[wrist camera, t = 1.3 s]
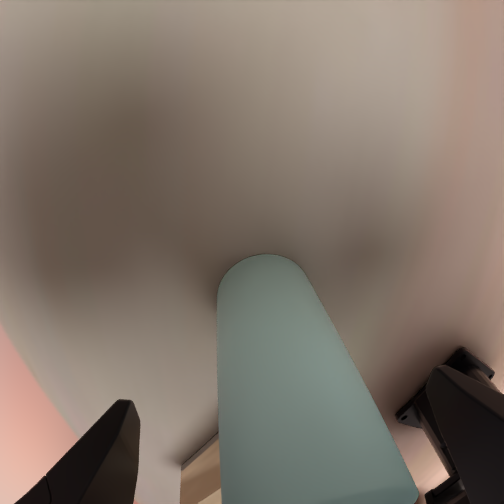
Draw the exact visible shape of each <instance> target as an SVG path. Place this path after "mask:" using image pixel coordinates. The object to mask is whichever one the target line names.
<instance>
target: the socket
mask: <svg viewBox="0 0 504 504" xmlns="http://www.w3.org/2000/svg"><path fill="white" fill-rule="evenodd" d="M180 504H222V499H221V479H220V455H219V432H218V433H217V434H216V435H215V436H214V437H213V438H212V439H211V440H210V441H208V442H207V443H206V444H205V445H204V446H203V447H202V448H201V449H200V450H199V451H198V452H197V453H195V454H194V455H193V456H192V457H191V458H190V459H189V460H188V461H187V462H185V463H184V464H183V465H182V467H181V488H180Z"/></svg>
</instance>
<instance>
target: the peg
mask: <svg viewBox="0 0 504 504" xmlns="http://www.w3.org/2000/svg"><path fill="white" fill-rule="evenodd" d="M217 382H218V425H219V455H220V479H221V499H222V504H414V503H415V502H416V500H417V499H418V496H419V491H418V489H417V487H416V485H415V483H414V481H413V479H412V476H411V474H410V472H409V470H408V468H407V466H406V464H405V462H404V460H403V458H402V456H401V454H400V452H399V450H398V448H397V446H396V444H395V442H394V440H393V438H392V436H391V434H390V432H389V430H388V428H387V426H386V424H385V422H384V420H383V418H382V416H381V414H380V412H379V410H378V408H377V406H376V404H375V402H374V400H373V398H372V396H371V394H370V392H369V390H368V389H367V387H366V385H365V383H364V381H363V379H362V377H361V375H360V373H359V371H358V369H357V368H356V366H355V364H354V362H353V360H352V358H351V356H350V354H349V353H348V351H347V349H346V347H345V345H344V343H343V341H342V340H341V338H340V336H339V334H338V332H337V330H336V328H335V327H334V325H333V323H332V321H331V319H330V318H329V316H328V314H327V312H326V310H325V308H324V307H323V305H322V303H321V301H320V299H319V298H318V296H317V294H316V292H315V290H314V289H313V287H312V285H311V283H310V282H309V280H308V278H307V276H306V274H305V273H304V271H303V270H302V269H301V268H300V267H299V266H298V265H297V264H296V263H294V262H293V261H291V260H289V259H288V258H285V257H282V256H278V255H272V254H261V255H255V256H252V257H248V258H246V259H244V260H242V261H240V262H238V263H237V264H235V265H234V266H233V267H232V268H231V269H230V270H229V271H228V272H227V273H226V274H225V275H224V277H223V279H222V280H221V282H220V285H219V288H218V292H217Z"/></svg>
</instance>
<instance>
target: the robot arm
mask: <svg viewBox="0 0 504 504" xmlns="http://www.w3.org/2000/svg"><path fill="white" fill-rule="evenodd" d="M494 374H495V372H494V371H493V370H492V369H491V368H490V367H489V366H487V365H486V364H485V363H484V362H482V361H481V360H480V359H478V358H477V357H476V356H475V355H473V354H472V353H471V352H470V351H468V350H467V349H466V348H464V347H463V348H460V349H459V350H458V351H457V352H456V353H455V354H454V355H453V356H452V357H451V359H450V360H449V361H448V362H447V363H446V364H445V365H441V366H437V367H435V368H434V369H433V370H432V372H431V375H430V377H429V380H428V382H427V385H426V386H425V387H424V388H423V389H422V390H421V391H420V392H419V393H418V394H417V395H416V396H415V397H414V398H413V399H412V400H411V401H410V402H409V403H407V404H406V405H405V406H404V407H403V408H402V409H401V410H400V411H399V412H398V413H397V414H396V416H395V417H396V419H397V421H398V422H399V423H402V424H406V425H410V426H413V427H417V428H421V429H423V430H424V432H425V434H426V435H427V437H428V439H429V441H430V442H431V444H432V446H433V448H434V449H435V451H436V453H437V455H438V456H439V458H440V460H441V462H442V463H443V465H444V467H445V469H446V471H447V472H448V474H449V476H450V477H449V478H448V479H447V480H446V481H444V482H443V483H442V484H440V485H439V486H438V487H436V488H435V489H431V490H430V491H429V492H427V493H426V494H425V499H426V504H504V394H502V393H501V392H500V391H499V390H498V389H497V387H496V386H495V385H494V384H493V383H492V382H491V379H492V378H493V376H494ZM139 440H140V418H139V416H138V413H137V411H136V408H135V405H134V403H133V401H132V400H124V399H119V400H117V401H116V402H115V403H114V404H113V405H112V406H111V407H110V408H109V409H108V410H107V411H106V412H105V413H104V414H103V415H102V416H101V418H100V419H99V420H98V421H97V422H96V423H95V424H94V425H93V426H92V427H91V428H90V429H89V430H88V431H87V432H86V433H85V434H84V435H83V436H82V437H81V438H80V439H79V440H78V441H77V442H76V443H75V445H74V446H73V447H72V448H71V449H70V450H69V451H68V452H67V453H66V454H65V455H64V456H63V457H62V458H61V459H60V460H59V461H58V462H57V463H56V464H55V465H54V466H53V467H52V468H51V469H50V470H49V471H48V472H47V474H46V476H43V477H42V479H41V480H40V481H39V482H38V483H37V484H36V485H35V486H34V487H33V488H31V489H30V490H29V491H28V492H27V493H26V494H25V495H24V496H23V497H22V498H20V499H19V500H18V501H17V502H16V503H14V504H133V502H134V495H135V488H136V482H137V475H138V464H139Z"/></svg>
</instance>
